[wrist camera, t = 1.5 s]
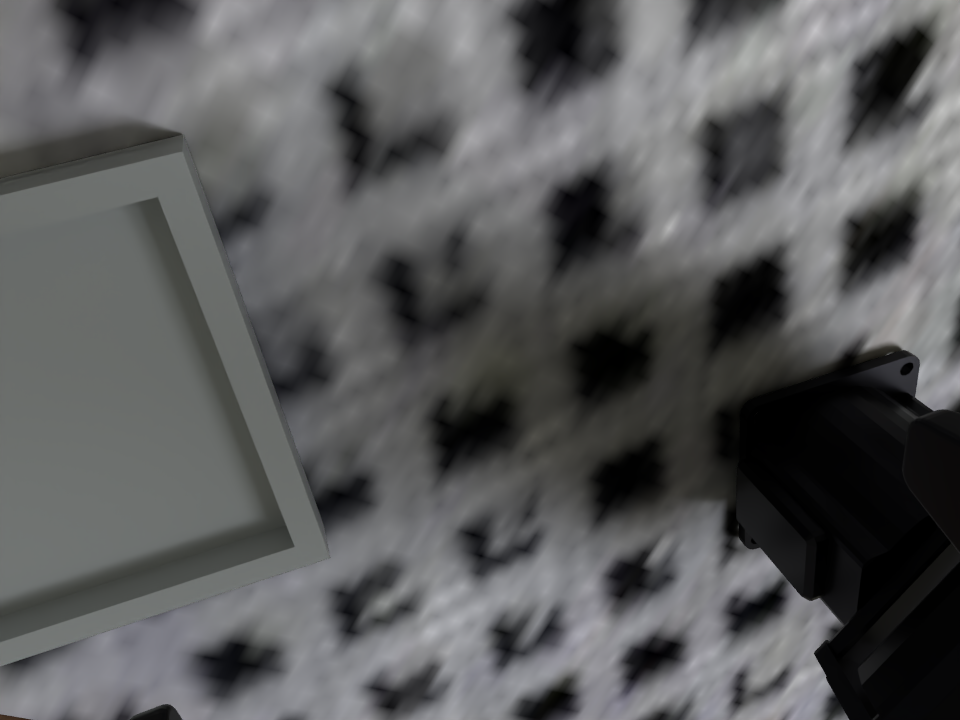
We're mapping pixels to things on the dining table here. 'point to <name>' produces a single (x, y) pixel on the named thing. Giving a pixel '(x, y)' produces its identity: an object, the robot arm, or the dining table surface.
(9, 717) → the chopping board
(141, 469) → the tray
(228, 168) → the dining table surface
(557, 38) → the dining table surface
